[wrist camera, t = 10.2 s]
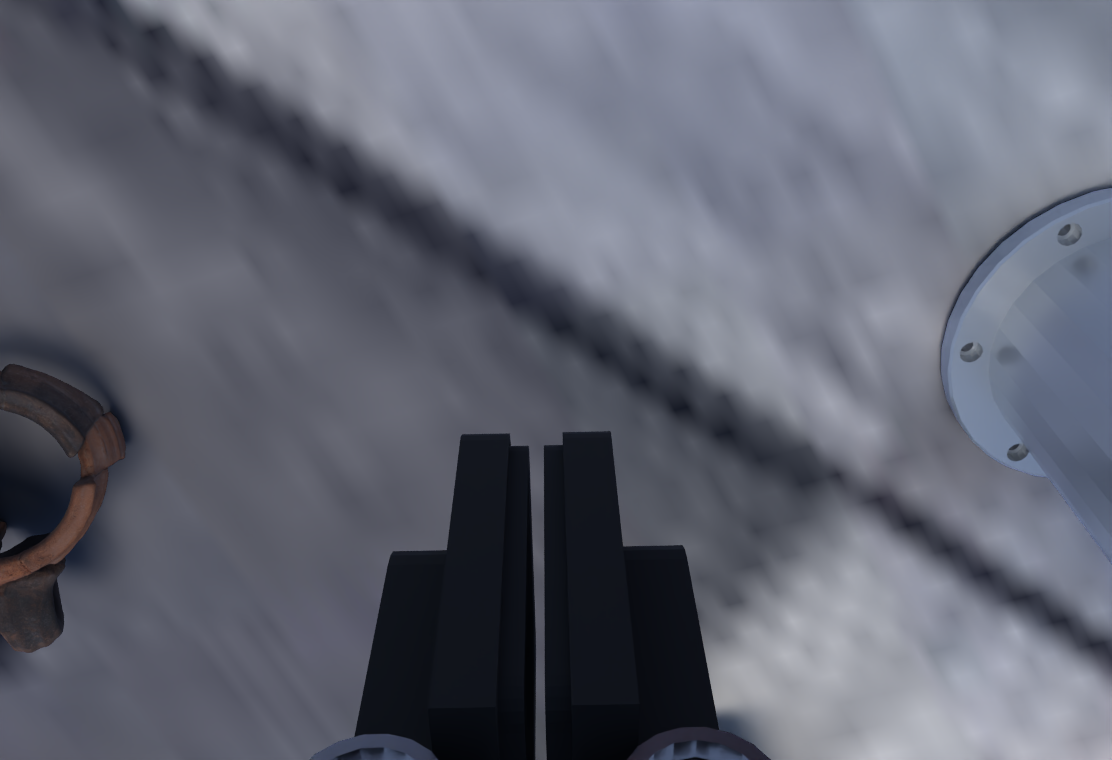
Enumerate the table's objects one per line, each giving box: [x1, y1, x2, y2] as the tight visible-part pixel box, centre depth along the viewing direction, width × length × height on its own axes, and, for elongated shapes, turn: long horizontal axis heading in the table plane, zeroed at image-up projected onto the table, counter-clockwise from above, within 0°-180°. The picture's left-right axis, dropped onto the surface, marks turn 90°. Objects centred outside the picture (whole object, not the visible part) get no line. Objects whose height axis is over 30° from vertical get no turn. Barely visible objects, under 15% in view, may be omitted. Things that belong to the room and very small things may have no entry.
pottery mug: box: [0, 364, 126, 653], centre depth 41 cm, size 12×10×8 cm
